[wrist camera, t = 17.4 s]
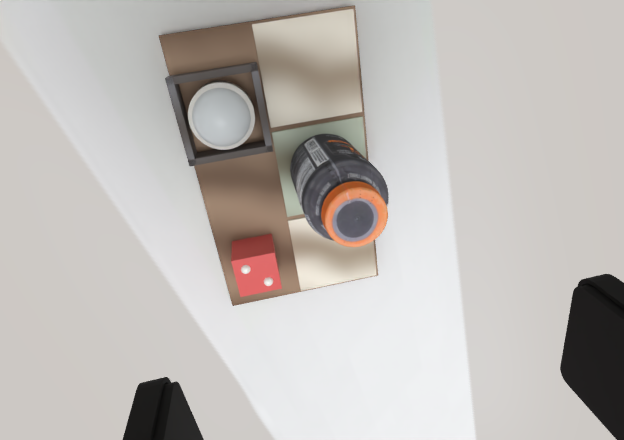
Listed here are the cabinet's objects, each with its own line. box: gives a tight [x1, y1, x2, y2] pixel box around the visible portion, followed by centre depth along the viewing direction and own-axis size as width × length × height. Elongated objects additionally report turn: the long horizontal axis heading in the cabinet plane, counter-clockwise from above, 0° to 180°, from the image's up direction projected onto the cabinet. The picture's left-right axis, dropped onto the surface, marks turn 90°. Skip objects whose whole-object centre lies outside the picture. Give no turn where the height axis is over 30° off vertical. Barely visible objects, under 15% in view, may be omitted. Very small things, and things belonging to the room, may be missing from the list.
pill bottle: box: [290, 134, 388, 247], centre depth 30 cm, size 6×6×11 cm
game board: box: [159, 6, 378, 306], centre depth 35 cm, size 24×14×3 cm, turn 8°
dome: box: [188, 80, 255, 150], centre depth 30 cm, size 5×5×4 cm
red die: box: [231, 234, 282, 297], centre depth 36 cm, size 4×4×4 cm
